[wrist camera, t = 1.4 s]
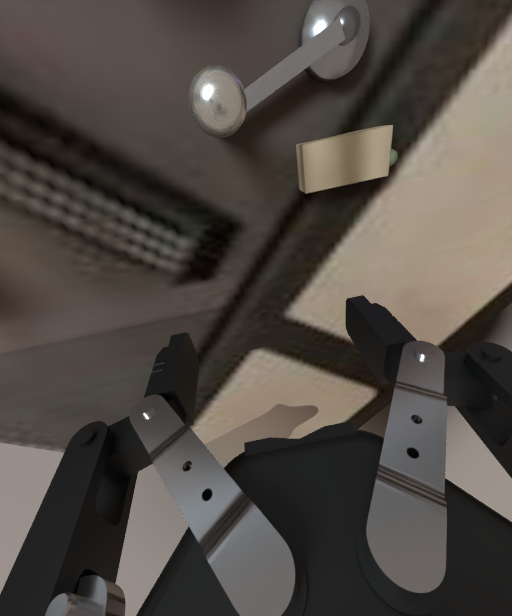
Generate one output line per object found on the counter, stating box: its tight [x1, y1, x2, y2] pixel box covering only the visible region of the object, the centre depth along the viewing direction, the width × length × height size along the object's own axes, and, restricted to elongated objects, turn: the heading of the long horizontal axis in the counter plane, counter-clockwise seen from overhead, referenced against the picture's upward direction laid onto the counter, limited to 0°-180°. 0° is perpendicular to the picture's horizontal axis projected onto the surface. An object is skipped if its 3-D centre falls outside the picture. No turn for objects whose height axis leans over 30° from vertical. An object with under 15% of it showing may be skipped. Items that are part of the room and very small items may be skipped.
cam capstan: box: [189, 0, 370, 138], centre depth 19 cm, size 18×6×18 cm, turn 120°
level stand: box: [296, 125, 397, 193], centre depth 31 cm, size 11×5×3 cm, turn 100°
